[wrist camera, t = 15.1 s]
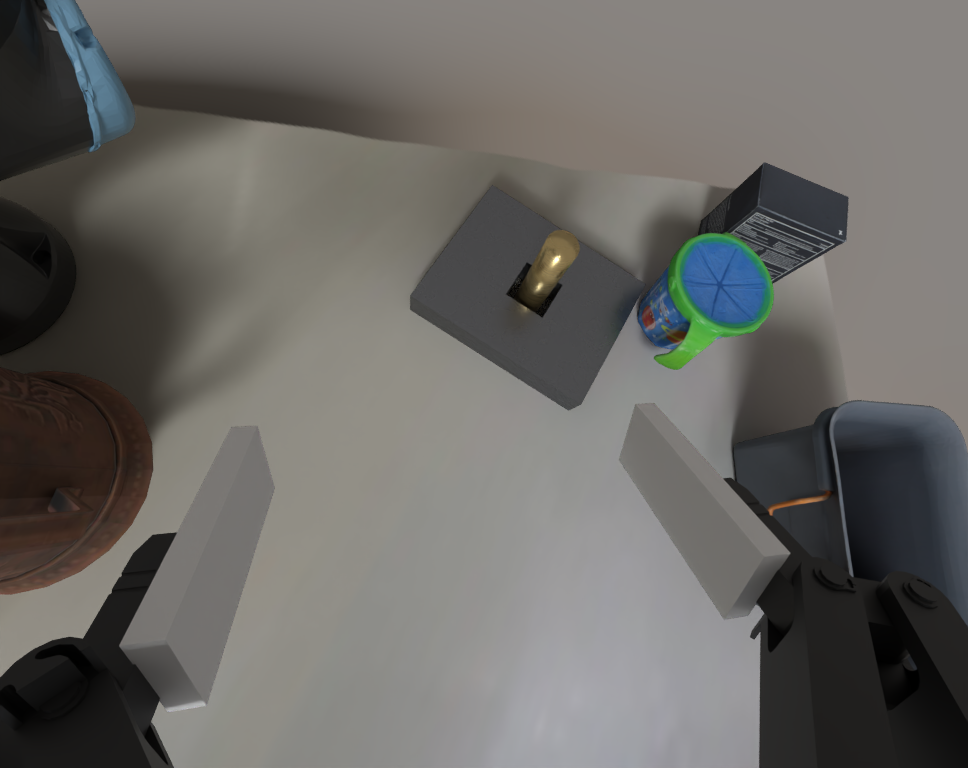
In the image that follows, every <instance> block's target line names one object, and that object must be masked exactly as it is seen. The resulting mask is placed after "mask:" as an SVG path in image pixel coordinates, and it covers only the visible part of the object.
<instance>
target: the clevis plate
mask: <svg viewBox="0 0 968 768" xmlns="http://www.w3.org/2000/svg"><path fill="white" fill-rule="evenodd" d="M556 230H561V229H560V228H558V227H557V226H555V225H553V224H552V223H550V222H549V221H547V220H546V219H544V218H543V217H541V216H540V215H538V214H537V213H535V212H533V211H532V210H530V209H529V208H527V207H526V206H524V205H523V204H521V203H520V202H518V201H516V200H515V199H513V198H512V197H510V196H509V195H507V194H506V193H504V192H503V191H501V190H499V189H498V188H496V187H495V186H493V185H492V186H491V187H490V189H489V190H488V191H487V193H486V194H485V196H484V197H483V198H482V200H481V201H480V202H479V204H478V205H477V206H476V208H475V209H474V210H473V212H472V213H471V214H470V216H469V217H468V218H467V220H466V221H465V223H464V224H463V225H462V227H461V228H460V229H459V231H458V232H457V233H456V235H455V236H454V237H453V239H452V240H451V241H450V243H449V244H448V245H447V247H446V248H445V250H444V251H443V252H442V254H441V255H440V256H439V258H438V259H437V260H436V262H435V263H434V264H433V266H432V267H431V268H430V270H429V271H428V273H427V274H426V275H425V277H424V278H423V279H422V281H421V282H420V283H419V285H418V286H417V287H416V289H415V290H414V291H413V293H412V294H411V295H410V310H412V311H413V312H415V313H416V314H418V315H419V316H421V317H423V318H424V319H426V320H427V321H429V322H430V323H432V324H434V325H435V326H437V327H438V328H440V329H441V330H443V331H445V332H446V333H448V334H449V335H451V336H452V337H454V338H456V339H457V340H459V341H460V342H462V343H463V344H465V345H467V346H468V347H470V348H471V349H473V350H474V351H476V352H477V353H479V354H481V355H482V356H484V357H485V358H487V359H488V360H490V361H492V362H493V363H495V364H496V365H498V366H499V367H501V368H503V369H504V370H506V371H507V372H509V373H510V374H512V375H514V376H515V377H517V378H518V379H520V380H521V381H523V382H525V383H526V384H528V385H529V386H531V387H532V388H534V389H536V390H537V391H539V392H540V393H542V394H543V395H545V396H547V397H548V398H550V399H551V400H553V401H554V402H556V403H558V404H559V405H561V406H562V407H564V408H565V409H567V410H570V409H573V408H575V407H577V406H579V405H581V404H582V402H583V400H584V398H585V396H586V394H587V393H588V391H589V389H590V387H591V385H592V383H593V381H594V380H595V378H596V376H597V374H598V372H599V370H600V368H601V367H602V365H603V363H604V361H605V359H606V357H607V355H608V354H609V352H610V350H611V348H612V346H613V344H614V342H615V341H616V339H617V337H618V335H619V333H620V331H621V329H622V327H623V326H624V324H625V322H626V320H627V318H628V316H629V314H630V313H631V311H632V309H633V307H634V305H635V303H636V301H637V300H638V298H639V296H640V294H641V292H642V290H643V288H644V287H645V285H646V284H645V283H643V282H642V281H640V280H638V279H637V278H635V277H634V276H632V275H631V274H629V273H628V272H626V271H625V270H623V269H621V268H620V267H618V266H617V265H615V264H614V263H612V262H611V261H609V260H608V259H606V258H604V257H603V256H601V255H600V254H598V253H597V252H595V251H594V250H592V249H591V248H589V247H587V246H586V245H584V244H583V243H581V242H580V241H578V242H579V246H580V251H579V254H578V256H577V257H576V258H575V260H574V261H573V263H572V264H571V265H570V267H569V268H568V269H567V271H566V272H565V273H564V275H563V276H562V278H561V279H560V280H559V282H558V283H557V284H556V286H555V287H554V288H553V290H552V291H551V293H550V294H549V295H548V297H550V298H551V299H552V300H551V302H550V303H549V305H548V306H547V308H546V310H545V311H544V313H543V315H542V316H539V315H537V314H536V313H534V312H533V311H531V310H530V309H528V308H527V307H525V306H523V305H522V304H520V303H519V302H517V301H516V300H514V299H513V298H511V297H509V296H508V293H509V292H510V290H511V289H512V287H513V285H514V284H515V282H516V281H517V279H518V278H520V279H522V280H524V279H525V277H526V275H527V273H528V271H529V270H530V268H531V266H532V264H533V262H534V261H535V259H536V257H537V255H538V253H539V252H540V250H541V248H542V246H543V244H544V243H545V241H546V239H547V237H548V236H549V234H551V233H552V232H554V231H556Z"/></svg>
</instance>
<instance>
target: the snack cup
mask: <svg viewBox="0 0 968 768" xmlns="http://www.w3.org/2000/svg"><path fill="white" fill-rule="evenodd" d="M773 299H774V292H773V284H772V280H771V277H770V274H769V272H768V270H767V268H766V266H765V265H764V263H763V262H762V260H761V259H760V257H759V256H758V255H757V254H756V253H755V252H754V251H753V250H752V249H751V248H750V247H748V246H747V245H746V243H745V242H743V241H742V240H740V239H739V238H737V237H735V236H734V235H732V234H730V233H727V232H725V233H723V234H718V233H706V234H702V235H699V236H697V237H692V238H690V239H688V240H687V241H686V242H684V243H683V245H682V247H681V248H680V249H679V250H678V251H677V252H676V254H675V255H674V256H673V258H672V260H671V262H670V265H669V267H668V268H667V269H666V270H665V271H664V273H663V274H662V275H661V276H660V278H659V279H658V280H657V281H656V283H655V284H654V285H653V286H652V288H651V289H650V290H649V292H648V293H647V294H646V296H645V297H644V299H643V300H642V302H641V305H640V309H639V315H638V322H639V324H640V325H641V327H642V329H643V331H644V333H645V334H646V335H647V337H648V338H649V339H650V340H651V341H652V342H653V343H654V344H655V345H656V346H659V347H661V348H667V349H673V350H672V351H670V352H669V353H667V354H660V355H656V356H655V357H654V359H655V360H656V361H657V362H658V363H659V364H662V365H663V366H665V367H667V368H670V369H674V370H678V369H680V368H682V367H683V366H684V365H685V364H686V363H687V362H689V361H690V360H691V359H692V358H693V357H695V356H696V355H697V354H699V353H700V352H701V351H703V350H704V349H705V348H706V347H707V346H708V345H710V344H711V343H712V342H713V341H714V340H715V339H719V338H721V337H734V336H739V335H742V334H746V333H751V332H754V331H755V330H756V329H758V328H759V327H760V325H761V324H762V323H763V322H764V321H765V320H766V318H767V317H768V315H769V314H770V311H771V309H772V305H773Z"/></svg>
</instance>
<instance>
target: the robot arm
mask: <svg viewBox="0 0 968 768" xmlns="http://www.w3.org/2000/svg"><path fill="white" fill-rule="evenodd" d="M134 124H135V111H134V107H133V105H132V102H131V100H130V98H129V96H128V94H127V92H126V90H125V88H124V86H123V84H122V82H121V80H120V78H119V76H118V74H117V73H116V71H115V69H114V67H113V65H112V63H111V62H110V60H109V58H108V57H107V55H106V53H105V51H104V50H103V48H102V46H101V45H100V43H99V42H98V40H97V39H96V37H95V36H94V35H93V33H92V30H91V28H90V26H89V25H88V23H87V21H86V19H85V18H84V16H83V14H82V12H81V10H80V9H79V6H78V5H77V3H76V1H75V0H0V181H1V180H4V179H7V178H10V177H13V176H16V175H19V174H22V173H25V172H28V171H31V170H34V169H37V168H40V167H43V166H46V165H49V164H52V163H55V162H58V161H61V160H64V159H67V158H70V157H73V156H76V155H79V154H82V153H85V152H93V151H96V150H98V149H99V148H100V146H101V145H102V144H104V143H106V142H109V141H111V140H114V139H116V138H118V137H121V136H123V135H125V134H127V133H129V132H130V131H131V130H132V128H133V127H134ZM75 279H76V267H75V261H74V257H73V254H72V251H71V249H70V247H69V245H68V244H67V242H66V241H65V239H64V238H63V237H62V236H61V234H60V233H59V232H58V231H57V230H55V229H54V228H53V227H52V226H51V225H49V224H48V223H46V222H45V221H44V220H42V219H41V218H40V217H38V216H37V215H35V214H34V213H33V212H31V211H30V210H28V209H26V208H24V207H23V206H21V205H19V204H17V203H14V202H12V201H10V200H7V199H4V198H2V197H0V355H1V354H4V353H7V352H9V351H12V350H14V349H16V348H19V347H21V346H23V345H25V344H26V343H28V342H30V341H32V340H33V339H35V338H36V337H38V336H39V335H40V334H42V333H43V332H44V331H45V330H47V329H48V328H49V327H50V326H51V325H52V324H53V323H54V322H55V321H56V320H57V318H58V317H59V316H60V315H61V313H62V312H63V311H64V309H65V307H66V306H67V304H68V302H69V300H70V298H71V295H72V292H73V289H74V285H75ZM619 461H620V462H621V464H622V465H623V467H624V468H625V470H626V471H627V473H628V474H629V476H630V477H631V479H632V480H633V482H634V483H635V485H636V486H637V488H638V489H639V491H640V492H641V494H642V495H643V497H644V499H645V500H646V502H647V503H648V505H649V506H650V508H651V509H652V511H653V512H654V514H655V515H656V517H657V518H658V520H659V521H660V523H661V524H662V526H663V527H664V529H665V530H666V532H667V534H668V535H669V537H670V538H671V540H672V541H673V543H674V544H675V546H676V547H677V549H678V550H679V552H680V553H681V555H682V556H683V558H684V559H685V561H686V562H687V564H688V565H689V567H690V568H691V570H692V572H693V573H694V575H695V576H696V578H697V579H698V581H699V582H700V584H701V585H702V587H703V588H704V590H705V591H706V593H707V594H708V596H709V597H710V599H711V600H712V602H713V603H714V605H715V606H716V608H717V610H718V611H719V613H720V614H721V616H722V617H723V619H724V620H725V619H731V618H737V617H743V616H748V615H749V613H750V612H751V610H752V609H753V608H754V606H755V605H756V603H757V604H758V605H759V606H760V608H761V609H762V610H763V612H764V615H763V616H762V618H761V619H760V620H759V622H758V623H757V625H756V626H755V627H754V629H753V630H752V632H751V635H750V638H752V639H755V638H756V636H757V635H758V634H759V632H761V644H760V749H759V768H968V626H967V625H966V623H965V622H964V620H963V619H962V618H961V616H960V615H959V613H958V612H957V610H956V609H955V607H954V606H953V604H952V603H951V602H950V601H949V599H948V598H947V597H946V596H945V595H944V594H943V593H942V592H941V591H940V590H939V589H937V588H936V587H935V586H933V585H932V584H931V583H929V582H927V581H926V580H924V579H922V578H920V577H918V576H916V575H913V574H910V573H907V572H902V571H894V572H891V573H889V574H888V575H887V576H886V577H885V578H884V579H883V580H882V582H878V581H872V580H867V579H861V578H855V577H852V576H851V575H850V574H849V573H848V572H846V571H845V570H844V569H843V568H841V567H840V566H838V565H836V564H834V563H833V562H831V561H829V560H826V559H822V558H819V557H812V556H811V555H810V554H809V553H808V552H807V551H806V550H805V549H804V548H803V547H802V546H801V545H800V544H799V543H798V542H797V541H796V540H795V539H794V538H793V537H792V536H791V534H790V533H789V532H788V531H787V530H786V529H785V528H784V527H783V526H782V525H781V524H780V523H779V522H778V521H777V520H776V519H775V518H774V517H773V515H770V512H769V511H768V510H767V509H766V508H765V507H764V506H763V505H760V503H759V501H758V500H757V499H756V498H755V497H754V495H753V494H752V493H751V492H750V491H749V490H748V489H747V488H745V487H744V486H742V485H741V484H739V483H738V482H736V481H735V480H733V479H732V478H724V479H723V478H722V477H721V476H720V475H719V474H718V473H717V472H716V470H715V469H714V468H713V467H712V466H711V465H710V464H709V463H708V462H707V461H706V459H705V458H704V457H703V456H702V455H701V454H700V453H699V452H698V451H697V450H696V448H695V447H694V446H693V445H692V444H691V443H690V442H689V441H688V440H687V439H686V437H685V436H684V435H683V434H682V433H681V432H680V431H679V430H678V429H677V428H676V426H675V425H674V424H673V423H672V422H671V421H670V420H669V419H668V418H667V417H666V415H665V414H664V413H663V412H662V411H661V410H660V409H659V408H658V407H657V406H656V404H655V403H645V404H635V408H634V411H633V414H632V418H631V421H630V424H629V428H628V431H627V434H626V438H625V441H624V444H623V448H622V451H621V454H620V458H619ZM274 489H275V488H274V484H273V480H272V477H271V473H270V469H269V466H268V462H267V458H266V455H265V451H264V447H263V444H262V440H261V436H260V433H259V429H258V426H244V427H231V429H230V431H229V433H228V435H227V437H226V439H225V441H224V442H223V444H222V446H221V448H220V450H219V452H218V454H217V456H216V458H215V460H214V462H213V464H212V466H211V468H210V470H209V472H208V474H207V476H206V478H205V479H204V481H203V483H202V485H201V487H200V489H199V491H198V493H197V495H196V497H195V499H194V501H193V503H192V505H191V507H190V509H189V511H188V513H187V515H186V516H185V518H184V520H183V522H182V524H181V526H180V528H179V530H178V532H177V533H167V534H156V535H152V536H151V537H150V538H149V539H148V540H147V541H146V542H145V543H144V544H143V545H142V546H141V547H139V548H138V549H137V550H136V551H135V552H134V553H133V555H132V556H131V558H130V560H129V562H128V563H127V565H126V567H125V568H124V570H123V572H122V576H121V577H119V579H118V580H117V582H116V584H115V585H114V587H113V589H112V593H111V594H109V596H108V597H107V599H106V601H105V602H104V604H103V606H102V607H101V609H100V611H99V612H98V614H97V616H96V618H95V619H94V621H93V623H92V624H91V626H90V628H89V629H88V631H87V633H86V635H85V636H84V638H83V639H81V638H74V637H66V638H61V639H57V640H52V641H50V642H48V643H46V644H44V645H42V646H39V647H37V648H35V649H33V650H32V651H30V652H29V653H28V654H26V655H25V656H23V657H22V658H21V659H19V660H18V661H16V662H15V663H14V664H13V665H12V666H11V667H10V668H9V669H8V670H7V671H6V672H5V673H4V674H3V675H2V676H1V677H0V768H174V767H173V765H172V762H171V760H170V758H169V756H168V754H167V752H166V750H165V748H164V746H163V743H162V741H161V739H160V737H159V735H158V733H157V731H156V729H155V727H154V725H153V724H152V723H151V720H152V718H153V715H154V713H155V710H156V708H157V705H158V703H159V701H160V702H161V703H162V705H163V706H164V707H165V709H166V710H167V712H172V711H178V710H184V709H190V708H196V707H202V706H207V702H208V699H209V696H210V693H211V690H212V686H213V683H214V680H215V677H216V674H217V670H218V667H219V664H220V661H221V658H222V655H223V651H224V648H225V645H226V642H227V639H228V635H229V632H230V629H231V626H232V623H233V619H234V616H235V613H236V610H237V607H238V604H239V600H240V597H241V594H242V591H243V588H244V584H245V581H246V578H247V575H248V572H249V568H250V565H251V562H252V559H253V556H254V553H255V549H256V546H257V543H258V540H259V537H260V533H261V530H262V527H263V524H264V521H265V517H266V514H267V511H268V508H269V505H270V502H271V498H272V495H273V492H274ZM909 656H911V658H912V660H913V662H914V663H915V665H916V667H917V670H914V669H913V667H912V666H911V664H910V662H909V661H908V659H907V658H908V657H909Z"/></svg>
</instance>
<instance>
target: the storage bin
mask: <svg viewBox="0 0 968 768" xmlns="http://www.w3.org/2000/svg"><path fill="white" fill-rule="evenodd" d="M734 460H735V469H736V479H737V482H738V483H739V484H741V485H742V486H744V487H745V488H747V489H748V490H749V491H750V492H751V493H752V494H753V495H754V497H755V498H756V499H757V500H758V501H759V503H760V505H763V506H764V507H765V508H766V509H767V510H768V511H769V512H770V515H773V517H774V518H775V519H776V520H777V521H778V522H779V523H780V524H781V525H782V526H783V527H784V528H785V529H786V530H787V531H788V532H789V533H790V534H791V536H792V537H793V538H794V539H795V540H796V541H797V542H798V543H799V544H800V545H801V546H802V547H803V548H804V549H805V550H806V551H807V552H808V553H809V554H810V555H811V556H812V557H819V558H822V559H826V560H829V561H831V562H833V563H834V564H836V565H838V566H840V567H841V568H843V569H844V570H845V571H846V572H848V573H849V574H850V575H851V576H852V577H855V578H861V579H867V580H872V581H878V582H882V580H883V579H884V578H885V577H886V576H887V575H888V574H889V573H891V572H894V571H902V572H907V573H910V574H913V575H916V576H918V577H920V578H922V579H924V580H926V581H927V582H929V583H931V584H932V585H933V586H935V587H936V588H937V589H939V590H940V591H941V592H942V593H943V594H944V595H945V596H946V597H947V598H948V599H949V601H950V602H951V603H952V604H953V606H954V607H955V609H956V610H957V612H958V613H959V615H960V616H961V618H962V619H963V620H964V622H965V623H966V625H967V626H968V453H967V448H966V444H965V441H964V438H963V436H962V433H961V431H960V430H959V428H958V426H957V425H956V424H955V422H954V421H953V420H952V419H951V418H950V417H949V416H948V415H947V414H946V413H944V412H943V411H941V410H939V409H937V408H934V407H931V406H923V405H911V404H899V403H886V402H872V401H861V400H857V401H856V400H855V401H849V402H846V403H844V404H842V405H841V406H839V407H833V408H829V409H826V410H824V411H823V412H821V414H820V415H819V416H818V417H817V419H816V420H815V423H814V425H811V426H806V427H802V428H798V429H794V430H790V431H785V432H781V433H777V434H773V435H769V436H764V437H760V438H756V439H752V440H747V441H743V442H739V443H737V444H736V445H735V447H734ZM756 605H758V604H757V603H756ZM758 606H759V605H758ZM907 659H908V661H909V662H910V664H911V666H912V667H913V669H914V670H917V667H916V665H915V663H914V662H913V660H912V658H911V656H909V657H908V658H907Z"/></svg>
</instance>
